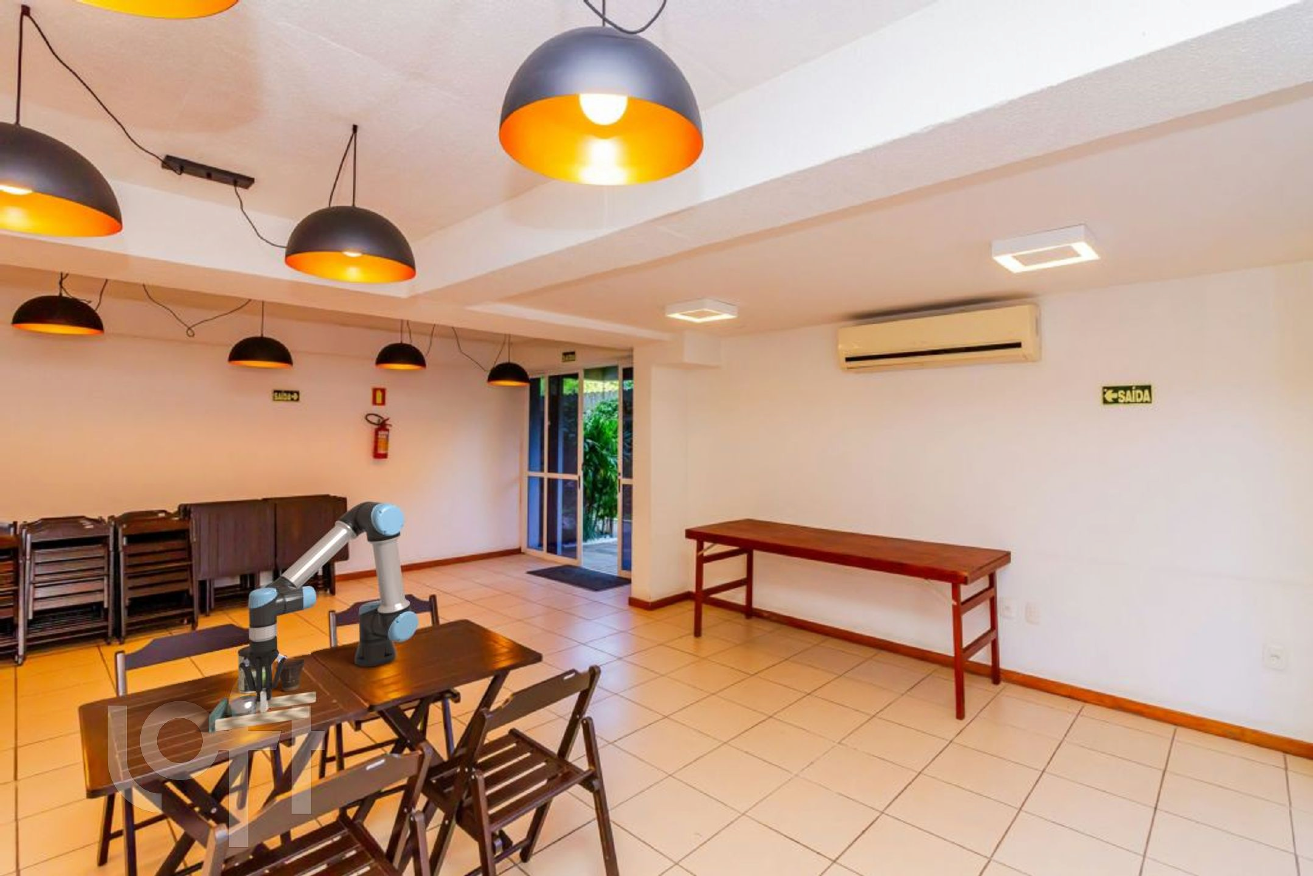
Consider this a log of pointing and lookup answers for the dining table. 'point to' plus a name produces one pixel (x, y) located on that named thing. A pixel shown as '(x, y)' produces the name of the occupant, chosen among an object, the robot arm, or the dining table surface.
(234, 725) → the channel
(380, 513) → the robot arm
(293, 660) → the cup
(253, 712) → the keeper
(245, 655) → the coffee can
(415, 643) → the dining table surface
